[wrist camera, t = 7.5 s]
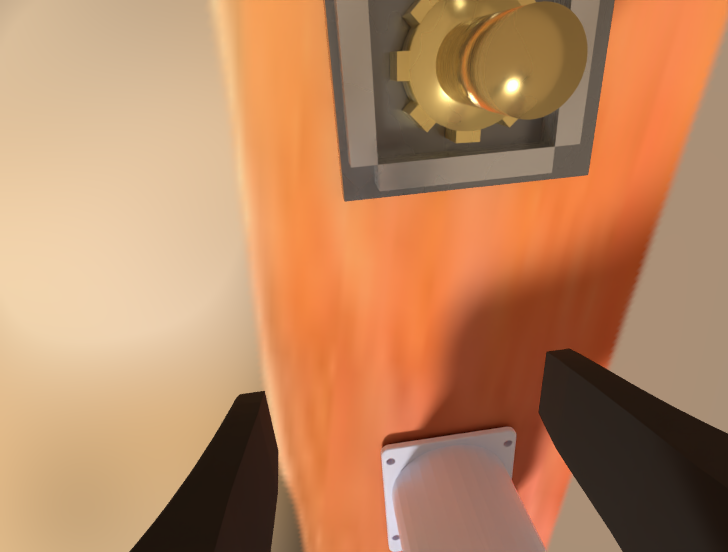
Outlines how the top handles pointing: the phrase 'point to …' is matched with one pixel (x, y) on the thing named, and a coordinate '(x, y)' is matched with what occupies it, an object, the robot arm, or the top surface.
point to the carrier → (431, 149)
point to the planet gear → (487, 63)
